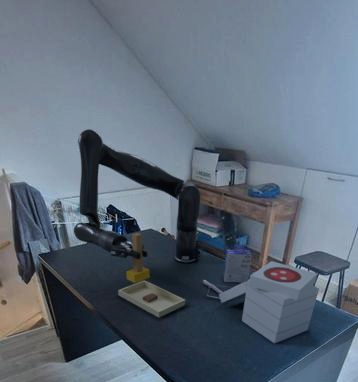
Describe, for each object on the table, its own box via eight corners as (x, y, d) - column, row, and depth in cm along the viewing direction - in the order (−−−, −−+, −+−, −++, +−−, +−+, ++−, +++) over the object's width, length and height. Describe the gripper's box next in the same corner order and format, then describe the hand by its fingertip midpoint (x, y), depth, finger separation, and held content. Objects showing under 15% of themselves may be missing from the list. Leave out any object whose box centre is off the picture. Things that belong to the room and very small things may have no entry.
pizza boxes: (252, 293, 128) (259, 248, 119) (316, 331, 107) (332, 279, 97) (212, 305, 119) (216, 257, 110) (273, 349, 98) (286, 294, 88)
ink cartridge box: (246, 277, 141) (251, 244, 133) (248, 283, 136) (253, 248, 128) (222, 276, 141) (226, 243, 133) (224, 282, 136) (228, 248, 128)
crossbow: (242, 298, 127) (243, 293, 126) (215, 306, 121) (216, 301, 120) (216, 279, 137) (216, 275, 136) (190, 286, 132) (191, 281, 130)
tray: (118, 296, 123) (118, 290, 121) (144, 286, 131) (144, 280, 129) (158, 319, 110) (158, 312, 109) (185, 306, 118) (185, 299, 117)
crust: (142, 299, 120) (142, 296, 119) (152, 295, 123) (152, 292, 122) (148, 302, 118) (148, 299, 117) (157, 298, 121) (157, 295, 120)
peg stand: (126, 278, 120) (124, 234, 111) (141, 273, 124) (140, 230, 115) (134, 283, 117) (133, 238, 109) (149, 277, 121) (149, 233, 113)
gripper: (95, 236, 117) (126, 249, 107) (127, 228, 126) (158, 240, 116) (97, 256, 121) (127, 271, 111) (128, 248, 130) (158, 260, 120)
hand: (143, 255), depth 114 cm, fingers closed on peg stand, 2 cm apart
